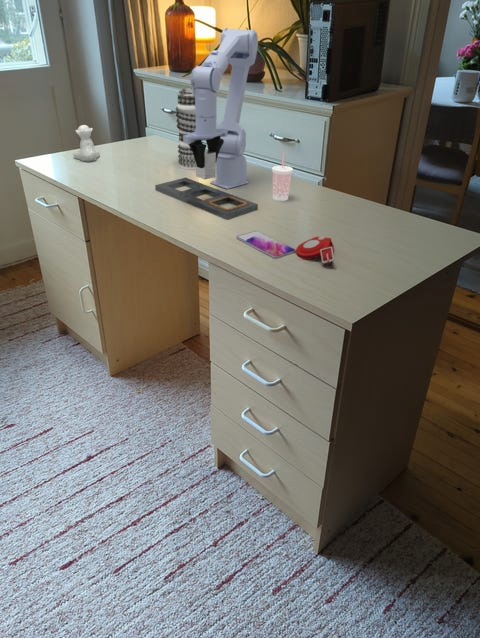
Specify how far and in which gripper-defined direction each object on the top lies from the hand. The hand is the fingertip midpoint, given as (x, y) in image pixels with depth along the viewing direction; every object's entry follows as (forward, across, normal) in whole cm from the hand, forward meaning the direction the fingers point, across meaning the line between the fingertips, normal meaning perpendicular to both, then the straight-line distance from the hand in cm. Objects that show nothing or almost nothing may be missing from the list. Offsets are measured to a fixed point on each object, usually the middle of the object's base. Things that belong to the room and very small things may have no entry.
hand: (206, 166), depth 147 cm
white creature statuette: (+10, +4, -59) cm, 60 cm away
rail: (+10, 0, -1) cm, 10 cm away
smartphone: (+11, +10, +33) cm, 36 cm away
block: (+3, 0, 0) cm, 3 cm away
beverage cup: (+10, -18, +13) cm, 25 cm away
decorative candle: (+10, -19, -30) cm, 37 cm away
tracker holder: (+11, +5, +46) cm, 47 cm away
